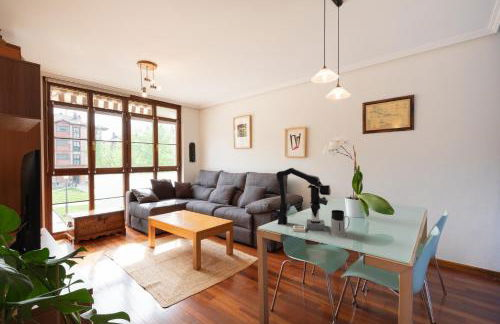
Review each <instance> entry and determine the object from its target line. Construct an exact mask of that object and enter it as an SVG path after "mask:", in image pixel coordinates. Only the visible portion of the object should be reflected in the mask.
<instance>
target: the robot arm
mask: <svg viewBox="0 0 500 324" xmlns="http://www.w3.org/2000/svg"><path fill="white" fill-rule="evenodd" d="M290 175H294V176H296V177H298V178H301V179H303V180H305V181H306V182H307V183H309V185H308V186H307V188H308V189H310V201H309V202H310V209H311V213H312V212H313V215H314V217H316V215H317V211H318V209H319V210H321V205H324V206H327V204H328V202H329V201H328V200H327V199H326V197H325V196H331V192H332V191H331V190H332V189H331V187H330V186H331V185H330V184H326V185H325V184H323V183H322V182H321V180H320V178H319V176H316V175H312V174H307V173H305V172H303V171H300V170H298V169H296V168H294V167H289V168H287V169H284V170H281V171H280V170H279V171H277V172H276V179H277V182H278V183H279V196H280V204H279V210H278V212H276V216H277V225H287V223H288V216H287V215H288V213H289V212H290V210H291V203H289V202H288V198H287V197H288V196H287V187H286V182H287V176H290ZM320 195H322V196H323V197H320ZM320 204H321V205H320Z"/></svg>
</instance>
